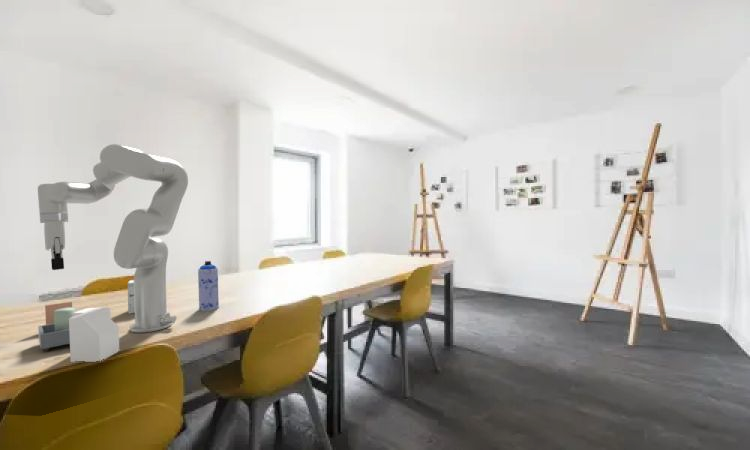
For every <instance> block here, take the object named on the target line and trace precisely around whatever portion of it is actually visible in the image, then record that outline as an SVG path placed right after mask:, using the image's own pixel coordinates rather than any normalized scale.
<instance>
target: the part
mask: <svg viewBox="0 0 750 450" xmlns="http://www.w3.org/2000/svg"><path fill="white" fill-rule="evenodd" d="M74 312H76V307H73V306H72V307H69V308H62V309H57V310H55V311H54V326H55V332H56V331H61V330H67V329H69V318H72V317H73V313H74Z"/></svg>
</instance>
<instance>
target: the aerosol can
mask: <svg viewBox="0 0 750 450" xmlns="http://www.w3.org/2000/svg"><path fill="white" fill-rule="evenodd" d="M197 271H198V272H197V275H198V276H197V278H198V281H197V282H198V283H197V284H198V311H200V312H209V311H215V310H218V309H219V308H220V305H219V304H220V303H219V272H218V271H219V269H218V267H217V266H216V265H215V264H213V263H212V261H211V260H205V261H204V264H202V265H201V266H200V267H199V268H198V269H197Z"/></svg>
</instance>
